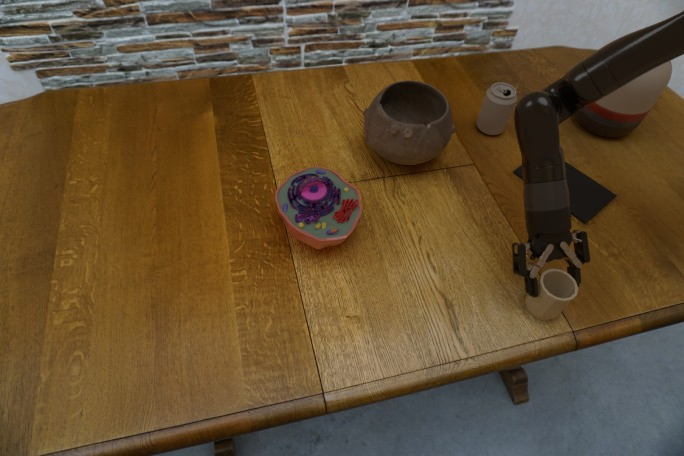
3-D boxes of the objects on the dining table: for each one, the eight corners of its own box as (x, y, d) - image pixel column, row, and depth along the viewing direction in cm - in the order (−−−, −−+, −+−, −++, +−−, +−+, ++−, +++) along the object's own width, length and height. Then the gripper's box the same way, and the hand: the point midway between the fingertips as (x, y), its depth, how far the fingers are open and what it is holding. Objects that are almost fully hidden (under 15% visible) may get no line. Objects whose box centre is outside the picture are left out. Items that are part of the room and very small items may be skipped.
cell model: (297, 275, 92) (295, 242, 83) (269, 203, 103) (263, 167, 94) (374, 250, 96) (380, 216, 87) (339, 184, 107) (340, 147, 98)
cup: (566, 307, 89) (585, 286, 83) (546, 327, 87) (564, 307, 80) (538, 284, 92) (554, 262, 86) (517, 302, 90) (532, 281, 83)
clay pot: (411, 112, 123) (420, 63, 111) (462, 160, 113) (479, 110, 101) (345, 139, 116) (347, 89, 104) (393, 193, 106) (402, 144, 94)
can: (499, 141, 118) (514, 102, 108) (471, 130, 120) (484, 92, 110) (507, 124, 122) (523, 86, 112) (480, 115, 124) (493, 76, 114)
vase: (567, 134, 120) (612, 52, 101) (569, 96, 130) (610, 15, 111) (635, 149, 117) (695, 68, 99) (632, 110, 127) (685, 29, 108)
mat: (615, 196, 107) (617, 195, 107) (584, 224, 102) (586, 222, 102) (544, 149, 116) (545, 148, 116) (512, 172, 111) (513, 170, 111)
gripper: (523, 214, 78) (531, 305, 80) (596, 199, 80) (602, 288, 83) (499, 210, 85) (508, 294, 87) (567, 197, 87) (573, 279, 90)
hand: (554, 291), depth 85 cm, fingers open, 8 cm apart
